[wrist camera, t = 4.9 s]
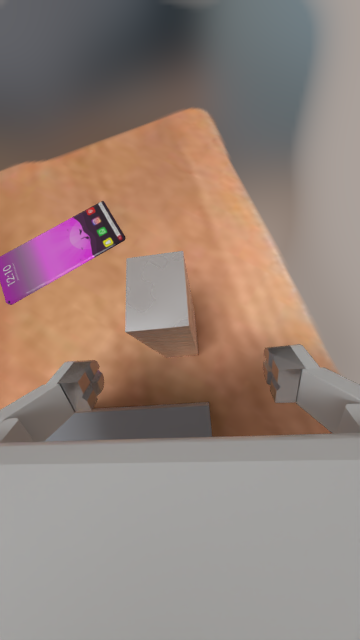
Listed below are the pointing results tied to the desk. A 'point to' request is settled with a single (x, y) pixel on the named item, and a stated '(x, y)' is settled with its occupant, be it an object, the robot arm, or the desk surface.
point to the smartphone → (58, 252)
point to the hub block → (137, 423)
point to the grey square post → (161, 304)
